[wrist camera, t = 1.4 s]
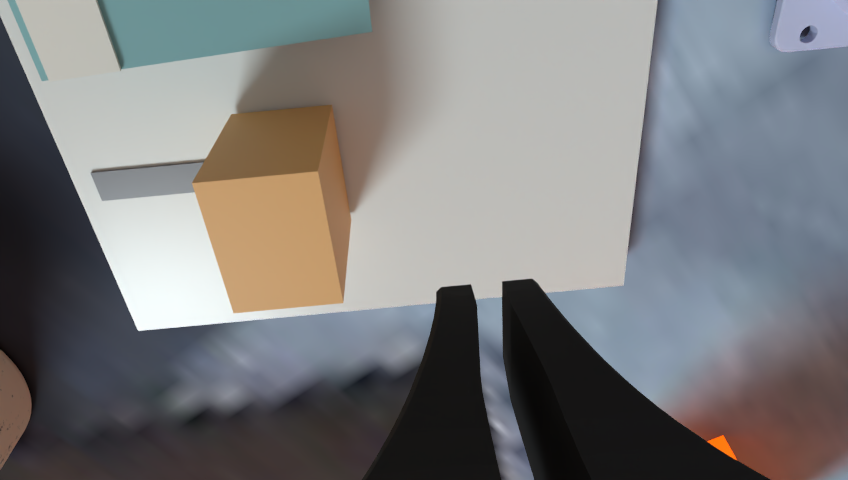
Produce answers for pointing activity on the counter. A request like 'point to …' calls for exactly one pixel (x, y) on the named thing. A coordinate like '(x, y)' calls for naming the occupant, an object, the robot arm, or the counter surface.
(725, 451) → the orange juice
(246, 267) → the block
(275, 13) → the teal flat block
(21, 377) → the teacup with lid
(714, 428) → the counter surface
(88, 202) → the panel
